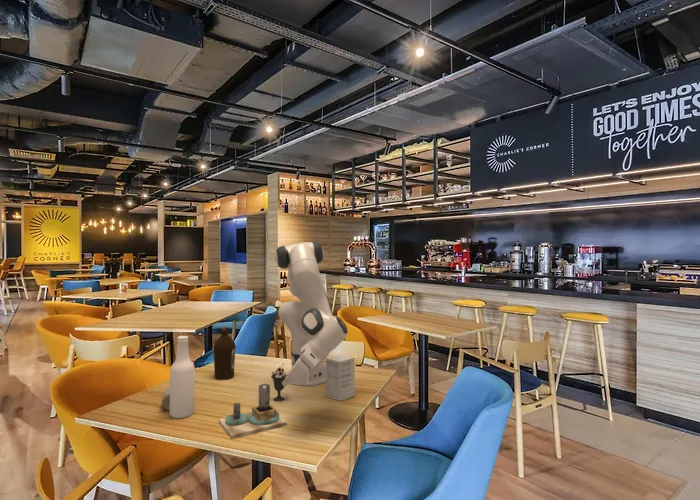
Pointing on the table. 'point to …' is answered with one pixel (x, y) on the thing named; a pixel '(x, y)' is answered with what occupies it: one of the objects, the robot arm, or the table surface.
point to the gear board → (251, 421)
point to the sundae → (279, 382)
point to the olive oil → (224, 356)
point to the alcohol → (182, 382)
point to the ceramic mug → (166, 399)
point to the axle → (264, 397)
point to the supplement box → (340, 377)
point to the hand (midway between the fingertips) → (286, 380)
